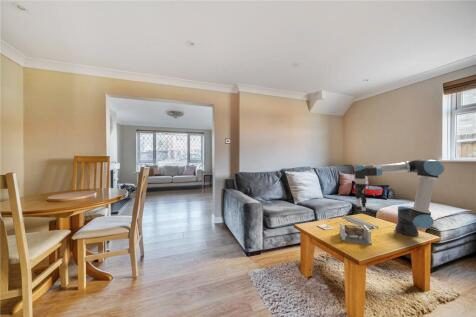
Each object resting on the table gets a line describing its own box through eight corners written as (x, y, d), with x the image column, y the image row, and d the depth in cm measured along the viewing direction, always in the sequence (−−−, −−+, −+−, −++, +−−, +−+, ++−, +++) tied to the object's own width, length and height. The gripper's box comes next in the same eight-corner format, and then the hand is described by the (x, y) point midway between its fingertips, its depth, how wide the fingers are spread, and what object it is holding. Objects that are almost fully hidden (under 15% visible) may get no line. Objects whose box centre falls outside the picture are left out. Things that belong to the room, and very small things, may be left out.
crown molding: (378, 228, 171) (378, 225, 171) (368, 230, 168) (368, 226, 168) (350, 217, 201) (350, 214, 201) (341, 218, 198) (341, 215, 198)
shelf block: (360, 233, 151) (360, 225, 151) (363, 236, 145) (363, 228, 145) (344, 231, 154) (344, 224, 154) (347, 235, 148) (347, 227, 148)
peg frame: (365, 236, 153) (366, 225, 153) (371, 244, 140) (371, 231, 139) (338, 233, 160) (339, 222, 159) (342, 240, 146) (342, 228, 146)
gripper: (351, 181, 168) (351, 204, 168) (359, 185, 144) (360, 212, 144) (360, 181, 165) (361, 204, 166) (371, 185, 141) (371, 213, 142)
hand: (360, 208), depth 155 cm, fingers open, 13 cm apart
